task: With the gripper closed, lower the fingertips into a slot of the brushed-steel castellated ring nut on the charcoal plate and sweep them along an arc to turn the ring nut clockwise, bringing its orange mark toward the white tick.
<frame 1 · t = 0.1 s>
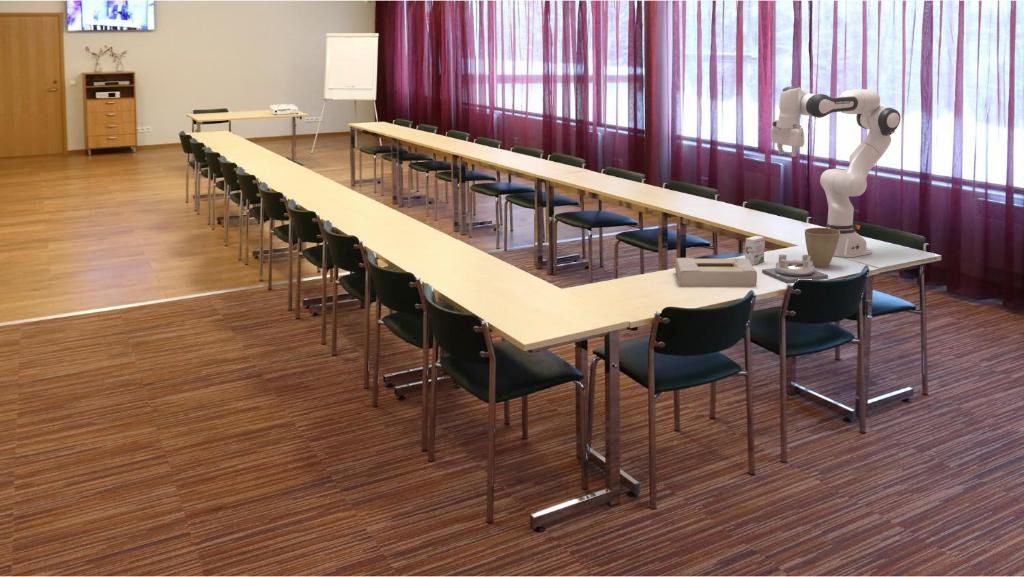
hand: (787, 155, 425), 48 cm above the table, tool pointing down, fingers open, 8 cm apart
box: (714, 280, 407), on the table
plant pot: (819, 266, 425), on the table
stud plate: (794, 275, 410), on the table
ink box: (754, 263, 434), on the table
ring nut: (795, 264, 409), point 5 cm above the table, hinge at 0.0°
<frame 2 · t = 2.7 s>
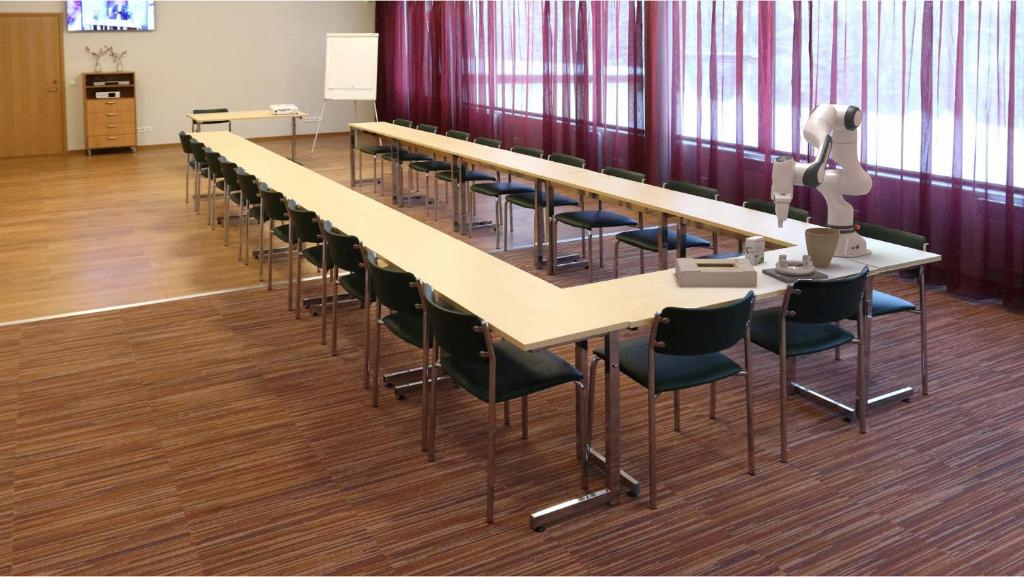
hand: (780, 227, 406), 21 cm above the table, tool pointing down, fingers closed
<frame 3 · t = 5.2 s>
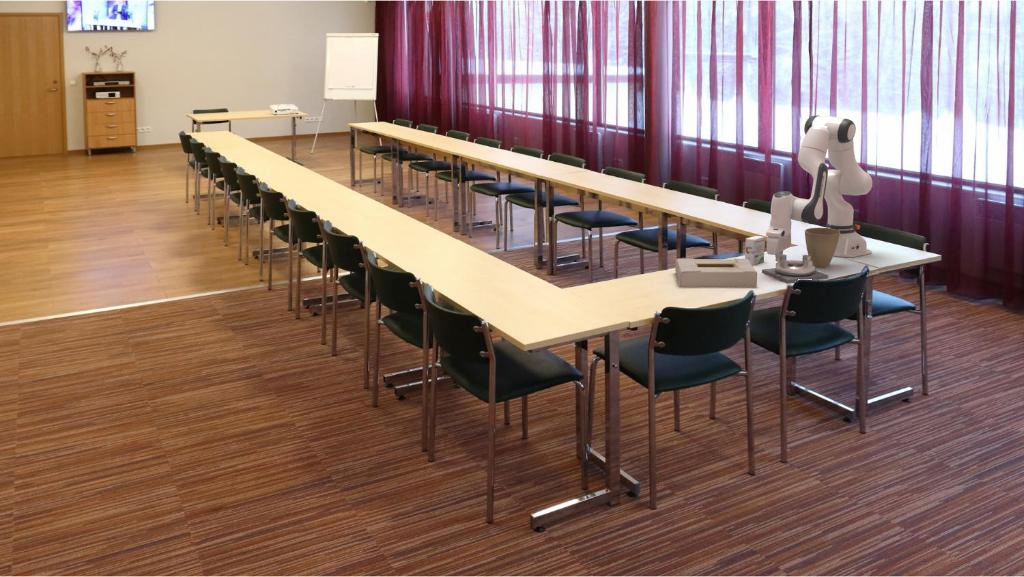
hand: (778, 261, 412), 6 cm above the table, tool pointing down, fingers closed
ring nut: (795, 264, 409), point 5 cm above the table, hinge at -0.5°, touching gripper
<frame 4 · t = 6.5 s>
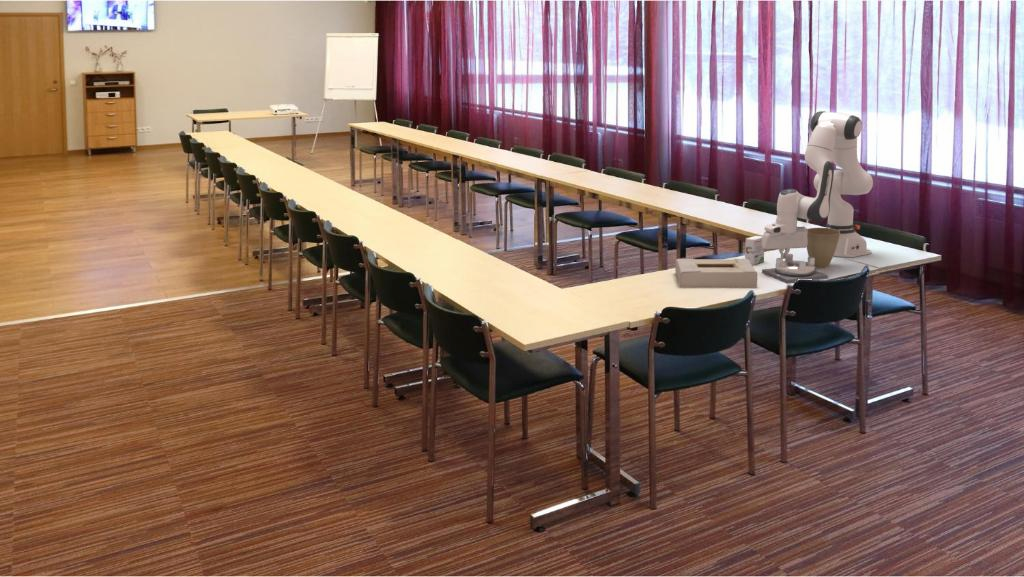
hand: (783, 258, 415), 6 cm above the table, tool pointing down, fingers closed
ring nut: (795, 264, 409), point 5 cm above the table, hinge at -27.6°, touching gripper
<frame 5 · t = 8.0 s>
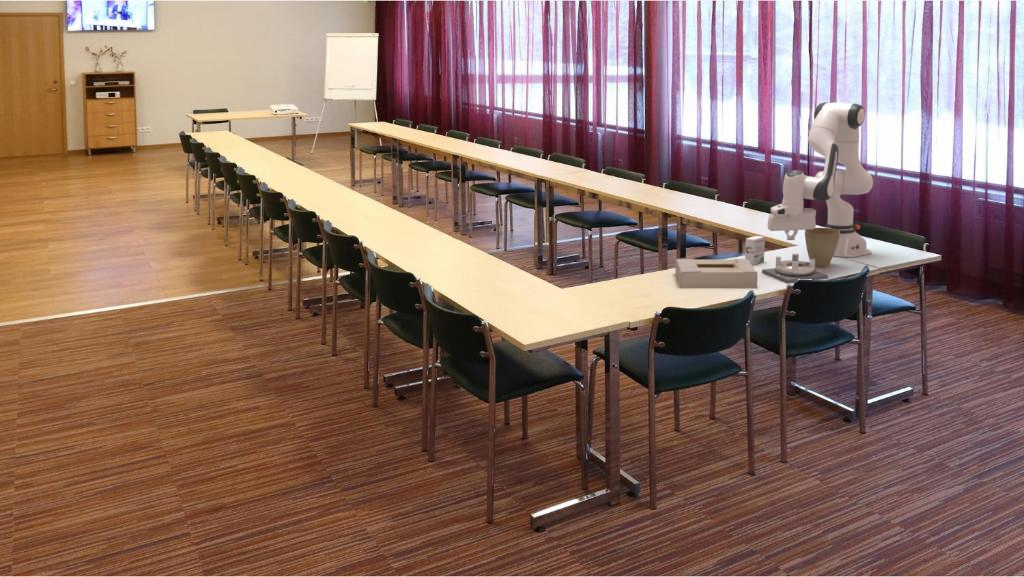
hand: (790, 239, 413), 14 cm above the table, tool pointing down, fingers closed
ring nut: (795, 264, 409), point 5 cm above the table, hinge at -49.5°
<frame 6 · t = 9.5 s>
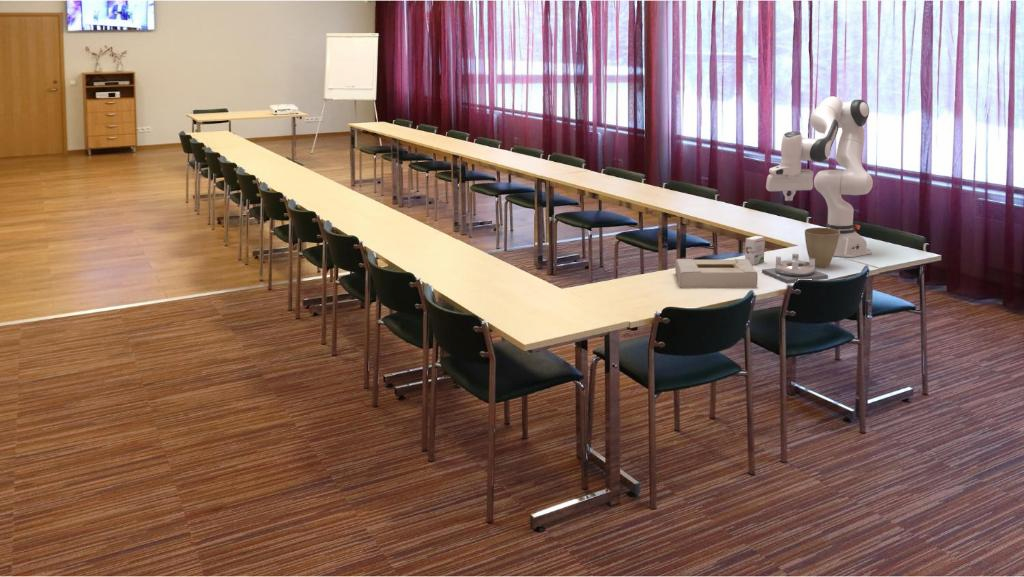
hand: (788, 200, 422), 29 cm above the table, tool pointing down, fingers closed
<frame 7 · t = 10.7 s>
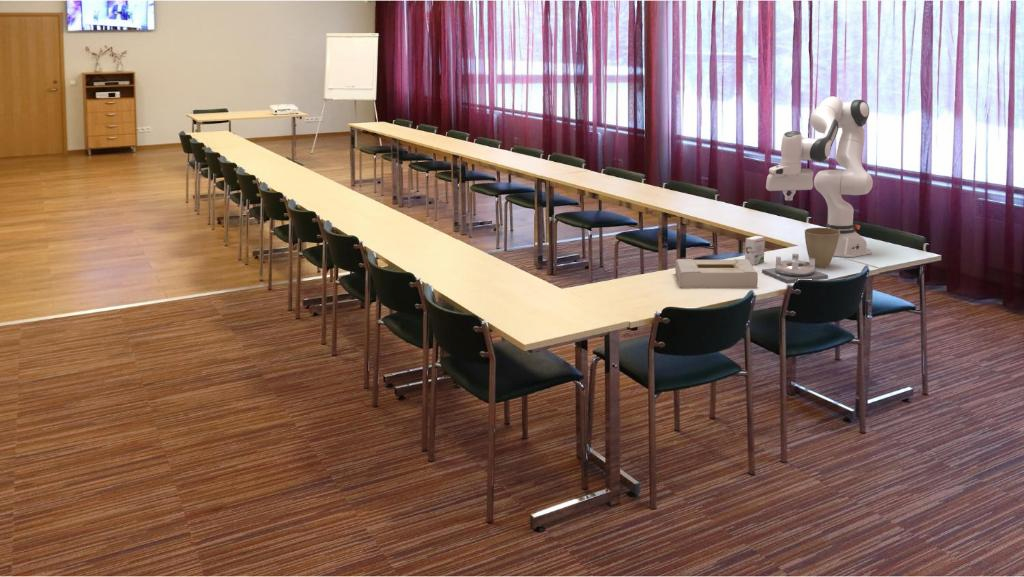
hand: (788, 200, 422), 29 cm above the table, tool pointing down, fingers closed
at the end: ring nut at -50° (first picture: +0°) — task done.
